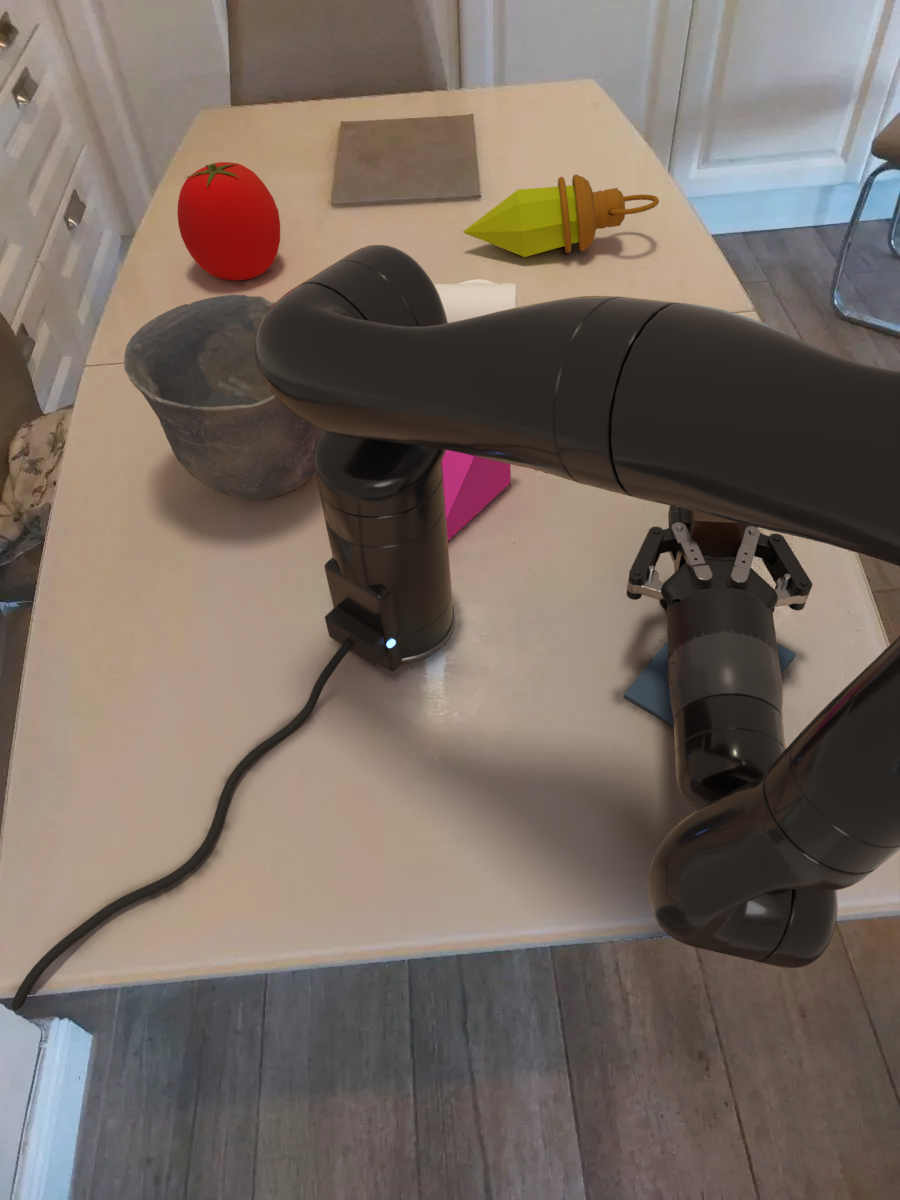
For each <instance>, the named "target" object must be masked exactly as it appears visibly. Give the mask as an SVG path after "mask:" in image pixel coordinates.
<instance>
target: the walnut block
mask: <svg viewBox="0 0 900 1200" xmlns="http://www.w3.org/2000/svg"><path fill="white" fill-rule="evenodd" d="M746 526H747V525H746V524H742V523H739V522H735V521H731V520H727V519H724V518H720V517H716V516H713V515H709V514H705V513H701V512H697V511H693V510H689V527H688V530H689V533H690V536H691V537H692V539H693V541H694V540H695V541H696V542H697V544H698V546H699V548H700V551H701V553H702V555H707V556H711V557H716V558H721V557H736V556H737V553H738V550H739V546H740V543H741V540H742V539H743V537H744V534H745V530H746Z"/></svg>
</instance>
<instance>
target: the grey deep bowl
mask: <svg viewBox="0 0 900 1200" xmlns="http://www.w3.org/2000/svg"><path fill="white" fill-rule="evenodd" d="M275 303H276V302H273V301H270V300H268V299H266V298H265V297H263V296H252V295H251V296H250V295H245V294H224V295H219V296H214V297H208V298H204V299H200V300H196V301H192V302H191V303H184V304H181V305H179V306H176V307H174V308H172V309H169V310H167V311H165V312H163V313H161V314H159V315H158V316H155V318H153V319H151V320H149V321H148V322H147V323H145V324H144V325H142V326H141V327H140V328H139V329H138V330H137V331H136V332H135V333H134V334H133V335H132V336H131V337H130V339H129V341H128V343H127V344H126V347H125V351H124V358H123V359H124V360H123V362H124V363H123V364H124V371H125V373H126V376H127V377H128V379H129V381H130V383H132V385H133V386H134V387H135V388H136V389H137V390H138V391H139V392H140V393H141V395H142V396H143V397H144V399H145V400H146V402H147V403H148V404H149V406H150V408H151V409H152V411H153V413H154V414H155V415H156V417H157V418H158V420H159V423H160V426H161V427H162V429H163V432H164V435H165V437H166V440H167V442H168V443H169V445H170V448H171V450H172V452H173V455H174V456H175V458H176V459H177V461H178V462H179V463H180V465H182V466H183V467H184V469H185V470H186V471H187V472H188V473H189V474H190V475H191V476H192V477H193V478H194V479H195V480H197V481H198V482H200V483H201V484H202V485H204V486H205V487H207V488H208V489H211V490H212V491H214V492H216V493H218V494H221V495H224V496H226V497H230V498H233V499H239V500H243V501H244V500H245V501H264V500H270V499H275V498H276V497H281V496H283V495H286V494H289V493H291V492H293V491H295V490H297V489H298V488H300V487H301V486H302V485H304V484H305V483H306V482H308V480H309V479H311V477H312V476H313V475H315V471H314V465H313V452H314V447H315V443H316V441H317V438H318V436H319V434H320V433H321V431H322V430H321V429H319V428H317V427H314V426H312V425H310V424H308V423H307V422H305V421H304V420H302V419H300V418H299V417H297V416H296V415H295V414H293V413H292V412H291V411H290V410H289V409H287V408H286V407H285V406H284V405H283V404H282V403H281V402H280V401H279V400H278V399H277V398H276V397H275V396H274V395H273V393H272V392H271V391H270V389H269V388H268V386H267V385H266V384H265V382H264V380H263V378H262V376H261V374H260V371H259V369H258V366H257V362H256V355H255V340H256V333H257V331H258V328H259V325H260V322H261V320H262V319H263V317H264V315H265V314H266V313H267V312H268V310H269V309H270V308H271V307H272V306H273V305H274V304H275Z"/></svg>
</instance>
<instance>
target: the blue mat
mask: <svg viewBox="0 0 900 1200" xmlns="http://www.w3.org/2000/svg"><path fill="white" fill-rule="evenodd" d="M777 649H778V657H779V665H780V673H781V676H782V675H783V674H784V672H785V671H786V670H787V668H788V667H789V665H790V664H791V662H792V661H793V660H794V658H795V656H796V655H797V653H796V652H795V651H793V650H792V649H789V648H787V647H785V646H783V645H781V644H779V643H777ZM668 671H669V665H668V640H667V641H666V642H665V643H664V644H663V645H662V647H661V648H660V649H659V651H657V653H656V655H655V656H654V657H653V658H652V659H651V661H650V662H648V664H647V665H646V667H645V668H644V669H643V670H642V672H640V674H639V675H638V676H637V677H636V679H635V680H634V682H633V683H632V684H631V685H630V686H629V688H628V689H627V690H626V691H625V693H624V694H623V698H625V699H626V700H628V701H630V702H631V703H632V704H633V703H634V704H635V705H637V706H639V707H640V708H642V709H643V710H645V711H646V712H649V713H650V714H652V715H654V716H656V717H657V718H659V719H661V720H662V721H664V722H666V723H667V724H669V725H671V726H672V727H674V717H673V712H672V708H671V702H670V694H669V687H668V681H667V674H668Z"/></svg>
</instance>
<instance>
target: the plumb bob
mask: <svg viewBox="0 0 900 1200" xmlns="http://www.w3.org/2000/svg"><path fill="white" fill-rule="evenodd" d="M571 180H572V181H571V183H572V185H567V184H566V180H565V178H564V176H560V177H558V179H557V186H546V187H545V186H544V187H535V188H534V187H533V188H521V189H520V188H519V189H517V190H515V191H514V192H512V193H511V194H510V195H509V196H507V197H506V198H505V199H504V200H502V201H501V202H500V203H498V204H497V205H496V206H494V207H493V208H491V209H490V210H489V211H488V212H487V213H485V214H484V215H482V216H481V217H480V218H479V219H477V220H476V221H475V222H474V223H472V224H471V225H470V226H468V227H466V229H464V230H463V231H462V234H466V235H467V236H470V237H473V238H476V239H478V240H481V241H482V242H487V244H491V245H493V246H496V247H498V248H501V249H504V250H506V251H508V252H511V253H513V254H516V255H519V256H521V257H523V258H526V257H530V256H533V255H538V254H540V253H545V252H547V251H548V252H549V251H552V250H556V249H559V248H564V249H563V250H564V252H565V253H566V254H570V253H571V251H572V245H574V244H577V246H578V250H579V251H580V252H584V251H585V250H586V249H588V248H589V247H590V246H591V245H592V243H593V242H594V241H595V238H596V237H595V236H596V231H597V230H598V229H601V230H602V229H605V228H613V227H620V226H621V225H622V223H623V222H624V220H625V217H626V215H632V214H638V213H644V212H647V211H650V210H652V209H654V208H656V207H657V206H658V205H659V203H660V199H659V197H658V196H656V195H653V194H631V195H626V196H624V193H623V192H622V191H621V190H620V189H619V188H618V187H614V188H607V189H604V190H602V189H601V190H597V191H593V188H592V185H591V184H590V182H589V180H588V179H586V178H585V177H583V176H580V175H579V174H577V173H576V174H573V175H572V179H571ZM631 201H651V202H650V203H648V204H645V205H642V206H638V207H634V208H633V207H632V208H626V202H631Z"/></svg>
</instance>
